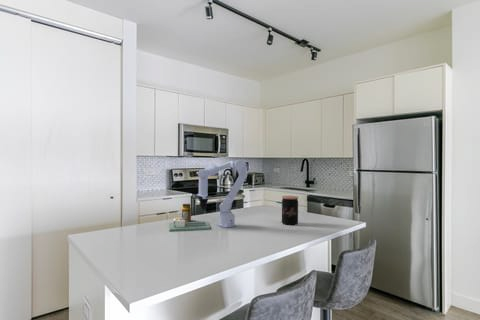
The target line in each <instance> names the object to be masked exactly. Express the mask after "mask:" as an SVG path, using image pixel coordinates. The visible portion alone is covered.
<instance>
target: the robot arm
mask: <svg viewBox="0 0 480 320" xmlns="http://www.w3.org/2000/svg"><path fill="white" fill-rule="evenodd" d="M229 168H233V169H234V168H235V169H236V171H237V173H238V177H237V178H236V180H235V182H234V184H233V185H232V187H231V189H230V190H229V192H228V194H227V196H226V197H225V199H224V200H223V202H221V203H220V204H219V206H218V207H219V223H218V224H216V225H217V226H218V227H219V226H220V227H223V228H226V229H227V228H231V227H235V226H236V224H235V221H236V220H235V219H236V217H235V214H234V213H233V212H232V209H231V208H232V206H233V203H234V199H235V198H236V196H237V194H238V193H239V191H240V189H241V187H242V185H243V184H244V183H245V181H246V179H247V177H248V165H247V162H246V161H245V160H244V159H236V160H230V161H227V162H225V163H223V164H219V165H216V164H211V165H210V166H207V167H204V169H203V168H200V170H198V172H197V176H198V193H197V194H196V196H197V198H198V200H199V206H200V208H201V210H206V207H207V203H208V201H209V198H207V197H208V196H209V195H208V188H209V185H208V184H209V182H208V178H209V177H212V176H214V175H217V174H219V172H220V171H222V170H226V169H229Z"/></svg>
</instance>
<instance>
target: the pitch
mask: <svg viewBox="0 0 480 320" xmlns="http://www.w3.org/2000/svg"><path fill="white" fill-rule="evenodd" d="M168 229H169V232H185V231H186V232H187V231H203V230H204V231H206V230H211V227H210V224H209V223H208V221H192V222H187V226H185V227H176V228H174V222H170V223H169V228H168Z"/></svg>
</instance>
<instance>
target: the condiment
mask: <svg viewBox="0 0 480 320" xmlns="http://www.w3.org/2000/svg"><path fill="white" fill-rule="evenodd" d="M183 212H188V220H187V222H195V219H192V208H191V204H190V203H183V204H182V207H181V218H183Z"/></svg>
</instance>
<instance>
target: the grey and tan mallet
mask: <svg viewBox="0 0 480 320" xmlns="http://www.w3.org/2000/svg"><path fill="white" fill-rule="evenodd" d="M183 220H185V226H187V220H188V212H183Z"/></svg>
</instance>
